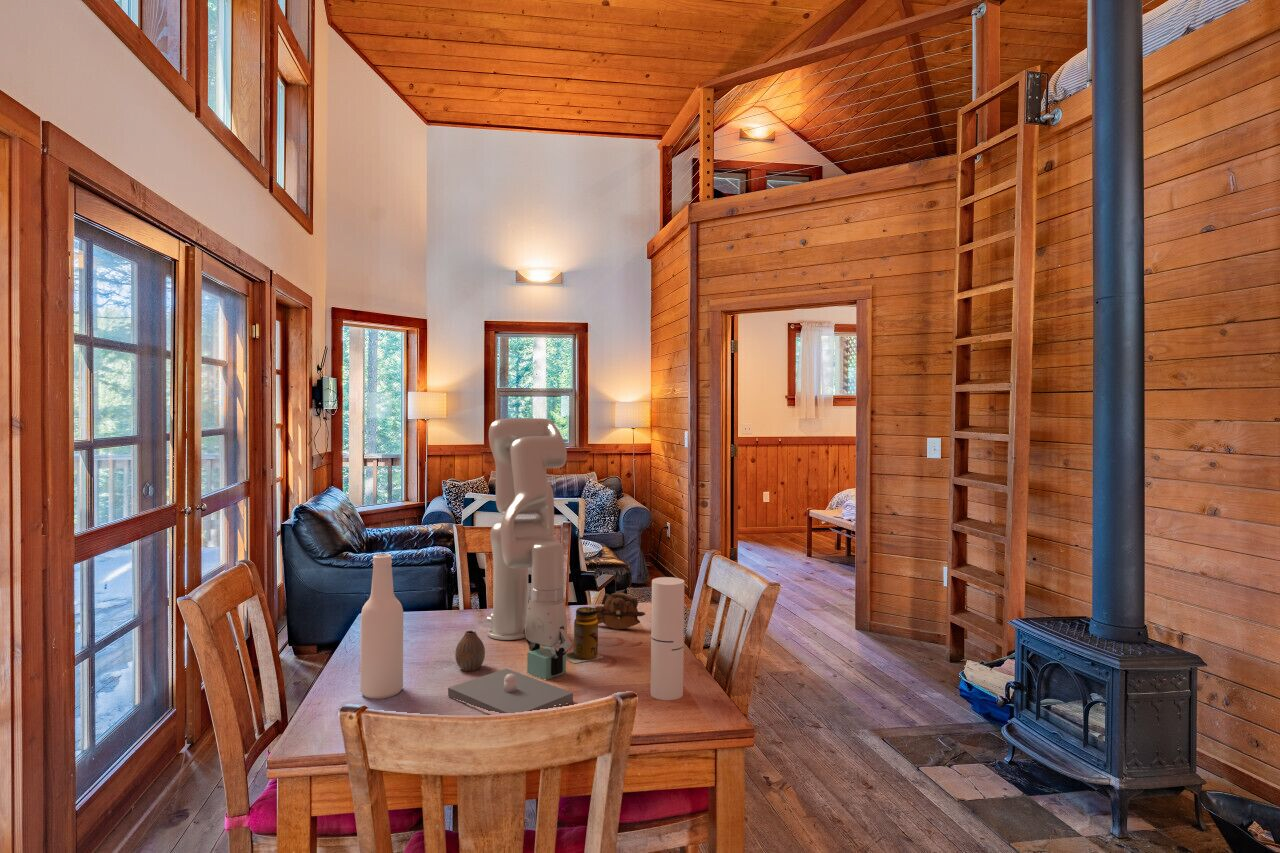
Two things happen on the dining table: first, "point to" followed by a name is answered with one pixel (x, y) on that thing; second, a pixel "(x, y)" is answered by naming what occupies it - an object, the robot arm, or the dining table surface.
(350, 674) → the dining table surface
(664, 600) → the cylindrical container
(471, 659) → the vase
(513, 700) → the post base
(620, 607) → the wooden carving
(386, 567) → the alcohol
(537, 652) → the seafoam cuboid
